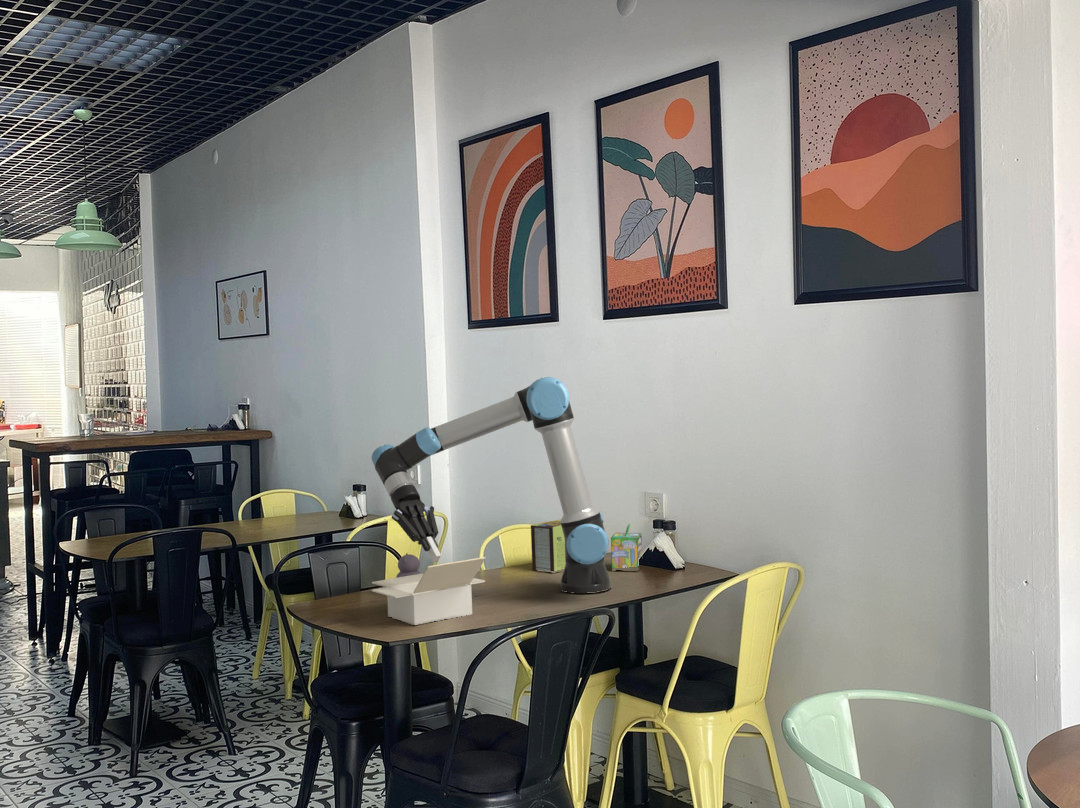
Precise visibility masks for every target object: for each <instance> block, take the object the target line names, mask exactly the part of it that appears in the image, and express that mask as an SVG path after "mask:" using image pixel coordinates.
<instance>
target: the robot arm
mask: <svg viewBox="0 0 1080 808" xmlns="http://www.w3.org/2000/svg"><path fill="white" fill-rule="evenodd" d="M574 419H575V417H574V414H573V410H572V407H571V403H570V393H569V391H568V388H567V386H566V385H565V384H564V383H563V382H562V381H561V380H559V379H557V378H555V377H551V376H546V377H540V378H538V379H536V380H534V381H532V383H531V384H530V385H529V386H527V387H525V388H523V389H521V390H518V391H516V392H515V393H514V396H512V397H509V398H506V399H504V400H501V401H499V402H496V403H493V404H490V405H488V406H486V407H484V408H481V409H478V410H476V411H473V412H470V413H468V414H465V415H462V416H460V417H458V418H454V419H452V420H450V421H447V422H445V423H441V424H440V425H436V426H434V427H431V428H430V427H429V426H426V427H424V428H422V429H420V430H419V431H417V432H416V433H414V434H412V435H411V436H410V437H408V438H407V439H405V440H404V441H402V442H401V443H400V444H398V445H396V446H394V445H392V444H390V443H389V444H388V443H387V444H384V445H380V446H378V447H377V448H376V449H374V451H373V452H372V453H371V454H372V455H371V462H372V463H373V466H374V470H375V471H376V473H377V475H378V477H379V479H380V481H381V482H382V484H383V487H384V488H385V490H386V492H387V494H388V496H389V498H390V501H391V502H392V504H393V506H394V508H395V509H396V510H394V512H393V513H392V515H391V519H392V520H393V521H395V522H396V523H397V524H398V525H399V527H400V528H402V530H403V531H404V533H405V534H406V535H407V537H409V539H410V540H411V541H412V542H413V543H416V542H417V544H418V546H421V547H422V549H423V551H425V552H427V554H428V556H429V558H430V560H431V562H432V563H437V562H438V561H439V560H440V559H441V556H442V555H441V552H440V550H439V544H438V542H437V541H436V538H437V536H438V534H439V529H438V526H437V521H436V518H435V513H434V512H435V507H434V506H430V507H428V506H426V505H425V503H424V502H423V501H422V500H421V496H420V494H419V491H418V490H417V488H416V486H415V484H414V481H413V480H412V478H411V476H410V475H409V473H408V471H409V470H410V469H412V468H413V467H414V466H416V465H418V464H420V463H421V462H423V461H424V460H426V459H427V458H429V457H431V456H433V455H436V454H439V453H441V452H444V451H446V450H449V449H451V448H453V447H457V446H459V445H461V444H464V443H467V442H470V441H472V440H475V439H477V438H480V437H482V436H485V435H487V434H491V433H493V432H496V431H498V430H501V429H504V428H506V427H509V426H511V425H514V424H517V423H520V422H523V421H524V422H526V423H530V422H531V421H532V423H533V424H532V425H533V429H534V430H535V431H537V432H538V433H540V434H541V436H542V441H543V443H544V447H545V451H546V452H545V453H546V454H547V458H548V463H549V465H550V469H551V474H552V477H553V482H554V484H555V488H556V492H557V494H558V495H557V496H558V499H559V502H560V503H559V504H560V506H561V510H562V514H563V515H562V517H561V521H560V523H561V526H562V530H563V534H564V538H565V568H564V571H563V572H562V575H561V579H560V583H559V585H560V591H561V590H563V591H567V592H574V593H587V592H597V591H602V590H606V589H609V588H610V587H611V588H612V584H611V583H612V582H611V577H610V575H609V572H608V570H607V566H606V564H605V556H606V554H607V552H608V548H609V544H610V543H609V541H610V540H609V536H608V534H607V532H606V530H605V527H604V517H603V514H602V513H601V512H600V510H599V509H597V508H595V507H594V506H593V502H592V499H591V496H590V492H589V488H588V485H587V482H586V481H587V480H586V477H585V473H584V470H583V466H582V463H581V459H580V455H579V452H578V448H577V444H576V441H575V437H574V434H573V429H572V426H571V425H572V423H573V421H574ZM563 591H562V592H563Z"/></svg>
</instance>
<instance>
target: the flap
mask: <svg viewBox="0 0 1080 808" xmlns="http://www.w3.org/2000/svg"><path fill="white" fill-rule="evenodd" d="M485 560H486V556H484V557H483V556H482V557H475V558H470V559H464V560H458V561H452V562H451V561H450V562H446V563H440V564H439V563H438V564H434V565H427V568H426V569H425V570H424V572H423V573H424V574H423V576H422V578H421V580H420V581H419V583H418V585H417V587H416V589H415V590H414V592H413V593H414V594H415V593H420V592H426V591H431V590H437V589H442V588H448V587H453V586H459V585H464V584H470V583H471V581H472V580H473V578H475V577H476V574H477V573H478V572H479V570H480V569H481V566H482V564H483V563H484V562H485Z"/></svg>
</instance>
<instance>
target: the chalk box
mask: <svg viewBox="0 0 1080 808" xmlns="http://www.w3.org/2000/svg"><path fill="white" fill-rule="evenodd" d="M630 526H631V524H630V523H629V524H628V525H627V526H626V530H625V532H615V533H613V535H612V536H611V537H610V549H611V550H610V552H611V553H610V555H611V569H612V568H625V567H626V568H627V567H628V568H629V567H638V566H639V559H640V557H641V555H642V556H643V544H642V543H643V539H642V538H643V537H642V536H643V534H642V532H629V531H630Z"/></svg>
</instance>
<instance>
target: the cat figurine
mask: <svg viewBox="0 0 1080 808" xmlns="http://www.w3.org/2000/svg"><path fill="white" fill-rule="evenodd" d="M420 565H421V563H420V560H419V558H418V557H417V556H416V555H414V554H409V553H408V552H406V554H405V555H403V556H401V557H400V558H399V560H398V562H397V568H398V570H399V572H398V573H397V574H396V577H395V578H399V577H404V576H410V575H416V574H422V573H421V572H420V571H419V569H420Z"/></svg>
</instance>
